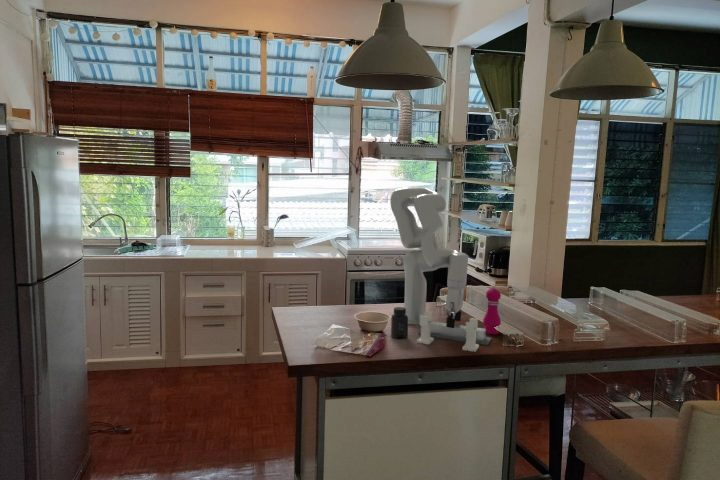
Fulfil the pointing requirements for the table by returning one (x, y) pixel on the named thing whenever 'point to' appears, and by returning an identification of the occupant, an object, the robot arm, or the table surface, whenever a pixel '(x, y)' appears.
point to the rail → (455, 331)
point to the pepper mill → (492, 311)
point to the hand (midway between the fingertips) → (453, 323)
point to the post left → (425, 328)
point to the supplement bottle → (399, 324)
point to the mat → (460, 338)
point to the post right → (471, 335)
